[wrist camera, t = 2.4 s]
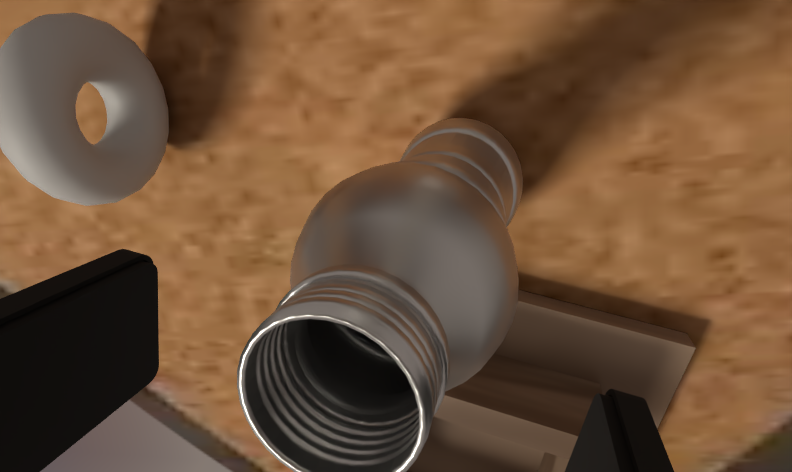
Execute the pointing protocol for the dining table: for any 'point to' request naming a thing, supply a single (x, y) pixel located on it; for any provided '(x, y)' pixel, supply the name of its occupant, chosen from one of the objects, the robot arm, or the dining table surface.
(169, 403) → the dining table surface
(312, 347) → the plastic bottle
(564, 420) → the bottle stand
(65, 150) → the donut
